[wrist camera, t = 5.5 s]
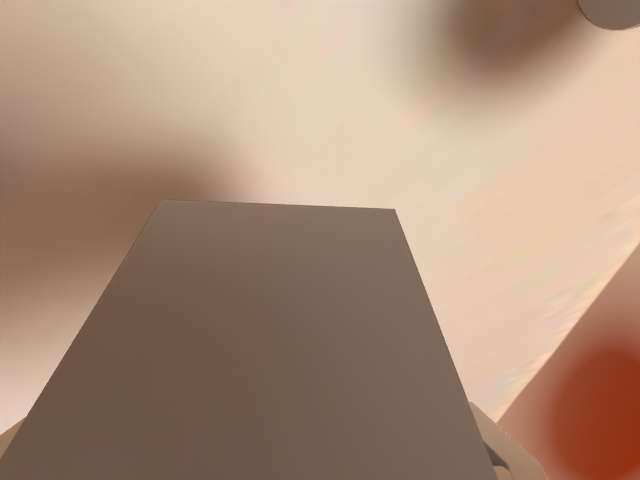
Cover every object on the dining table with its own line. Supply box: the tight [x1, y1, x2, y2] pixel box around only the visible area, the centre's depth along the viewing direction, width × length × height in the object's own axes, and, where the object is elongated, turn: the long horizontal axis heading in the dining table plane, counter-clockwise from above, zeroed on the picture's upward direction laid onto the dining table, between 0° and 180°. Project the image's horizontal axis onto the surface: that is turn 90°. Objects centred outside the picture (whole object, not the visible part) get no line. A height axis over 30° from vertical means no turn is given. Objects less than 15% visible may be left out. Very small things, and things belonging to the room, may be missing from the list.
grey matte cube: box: [0, 199, 498, 480], centre depth 11 cm, size 7×7×9 cm
